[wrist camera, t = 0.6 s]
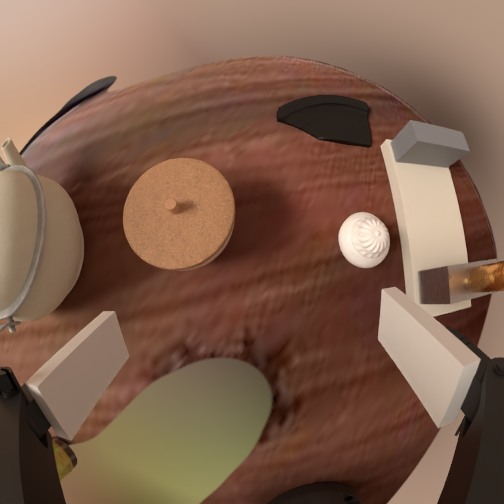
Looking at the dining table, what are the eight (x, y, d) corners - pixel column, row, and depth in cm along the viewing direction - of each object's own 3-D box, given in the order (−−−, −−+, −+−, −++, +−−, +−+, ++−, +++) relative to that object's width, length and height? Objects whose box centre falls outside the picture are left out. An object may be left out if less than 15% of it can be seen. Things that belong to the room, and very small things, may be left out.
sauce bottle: (63, 433, 26) (-17, 485, 7) (85, 465, 26) (18, 528, 6) (42, 436, 26) (-32, 479, 6) (62, 467, 25) (-2, 519, 5)
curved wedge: (277, 92, 35) (278, 85, 34) (363, 107, 35) (367, 101, 34) (274, 136, 34) (275, 129, 32) (369, 151, 34) (374, 145, 33)
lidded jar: (229, 179, 32) (224, 138, 23) (245, 267, 31) (244, 255, 22) (145, 196, 32) (114, 164, 23) (154, 282, 30) (119, 277, 21)
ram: (470, 293, 28) (552, 285, 14) (419, 304, 28) (513, 302, 13) (467, 264, 29) (549, 246, 14) (417, 271, 29) (510, 252, 14)
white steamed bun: (377, 226, 32) (405, 210, 25) (373, 274, 31) (402, 268, 24) (332, 216, 32) (352, 196, 25) (326, 266, 31) (347, 258, 24)
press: (462, 306, 31) (499, 306, 23) (407, 319, 30) (445, 323, 22) (435, 153, 34) (463, 130, 26) (380, 146, 34) (405, 116, 26)
